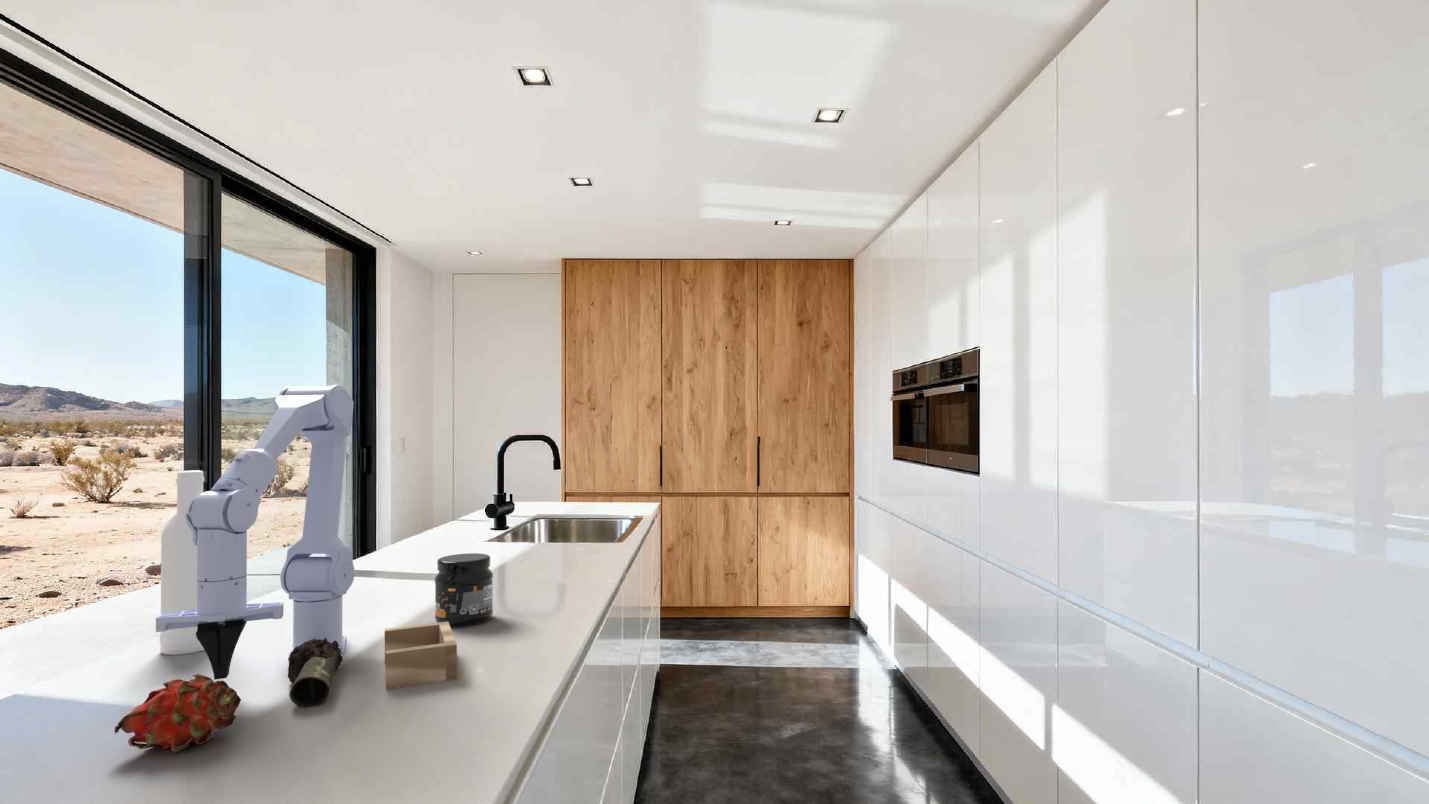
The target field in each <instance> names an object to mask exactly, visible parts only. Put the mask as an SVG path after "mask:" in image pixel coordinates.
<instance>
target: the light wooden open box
mask: <svg viewBox="0 0 1429 804" xmlns="http://www.w3.org/2000/svg"><path fill="white" fill-rule="evenodd" d="M457 647H458V644H457V641H456V638H455V636H454V633H453V631H452V627H450V625H449V622H448V621H447V622H438V623H437V622H431V623H425V624H424V623H423V624H415V625H408V626H397V627H390V628H389V627H388V628H385V629H384V664H385V690H391V689H392V688H393V689H398V688H397V687H399V688H405V687H411V686H418V685H425V684H431V683H438V682H443V681H444V682H445V681H452V680H457V678H458V668H457V667H458V652H457V651H458V648H457ZM393 689H392V690H393Z"/></svg>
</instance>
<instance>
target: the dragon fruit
mask: <svg viewBox="0 0 1429 804" xmlns="http://www.w3.org/2000/svg"><path fill="white" fill-rule="evenodd" d="M192 676H193V677H194V679H193V678H191V679H190V680H189V681H188V680H184V679H179V678H178V679H173V680H168V681H166V682H165V681H164V683H163V684H162V685H163V688H160V689H157V690H156V689H155V690H152V691H150V692H149V693H148V696H147V698H146V699H145V700H144V702H142V703H141V704H139V705H137V706H136V707H134V708H133V709H132V711H130V712H129V713H127V714H125V715H124V716H123V717H122V718H121V719H120V721H118V723H117V724H116V726H115V727H114V734H116V735H117V734H118V732H119V731H120V730H122V731H123V732H124V734H131V733H133V734H134V735H133V736H131V737H129V738H128V741H127V743H128V745H129V746H130V747H133V748H137V749H139V750H143V749H144V750H145V749H150V748H157V749H159V750H165V749H169V748H170V749H171V751H172V753H173V754H174V753H175V754H178V753H179V752H180V751H181V750H183V749H185V748H187V747H188V746H189V744H190V742H193V743H194V744H196V745H201V744H205V743H207V742H208V740H209V741H210V740H211V738H212V733H213V731H221V730H224V729H225V728H227V727H229V726H231V725H232V724H233V722H235V720H236V718H237V716H236V715H235V712H236V711H237V709H238V707H239V705H240V704H241V701H242V699H241V697H240V696H239V695H238V692H237V691H236V690H235V689H234V688H232V687H230V685H229V684H228V683H227V682H226V681H224V680H217V681H214V679H212V678H211V677H208V676H205V675H204V674H201V673H197V674H196V673H195V674H193V675H192Z"/></svg>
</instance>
